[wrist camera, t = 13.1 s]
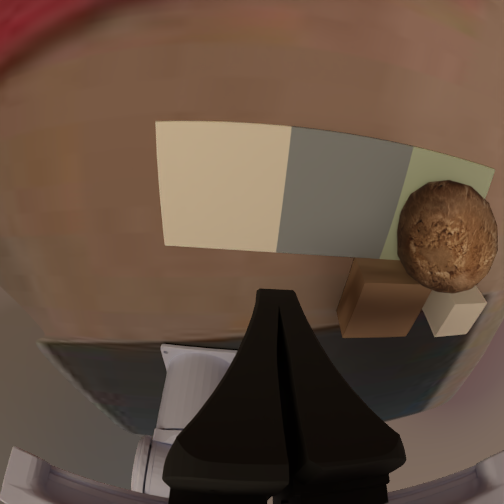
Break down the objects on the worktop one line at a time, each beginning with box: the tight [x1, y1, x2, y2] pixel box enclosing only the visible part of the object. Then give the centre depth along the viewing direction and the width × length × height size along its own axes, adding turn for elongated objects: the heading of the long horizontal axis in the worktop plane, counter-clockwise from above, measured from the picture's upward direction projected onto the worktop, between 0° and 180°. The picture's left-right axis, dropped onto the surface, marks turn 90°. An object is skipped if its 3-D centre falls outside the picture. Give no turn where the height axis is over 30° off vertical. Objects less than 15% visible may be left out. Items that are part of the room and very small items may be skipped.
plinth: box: [337, 257, 432, 338], centre depth 23 cm, size 6×6×3 cm
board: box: [156, 121, 495, 260], centre depth 20 cm, size 9×24×1 cm, turn 86°
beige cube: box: [422, 285, 487, 337], centre depth 23 cm, size 4×4×4 cm
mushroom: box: [397, 180, 498, 294], centre depth 18 cm, size 8×8×6 cm
